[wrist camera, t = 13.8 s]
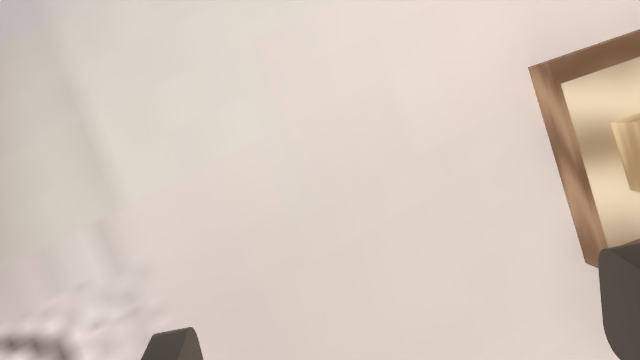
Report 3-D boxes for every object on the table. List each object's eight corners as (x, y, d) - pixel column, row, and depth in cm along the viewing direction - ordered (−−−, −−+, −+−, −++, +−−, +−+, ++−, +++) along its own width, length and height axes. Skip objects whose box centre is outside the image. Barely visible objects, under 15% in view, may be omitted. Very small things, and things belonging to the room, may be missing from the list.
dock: (528, 67, 40) (549, 62, 37) (664, 20, 41) (696, 12, 38) (585, 263, 42) (610, 273, 39) (716, 215, 42) (751, 221, 39)
